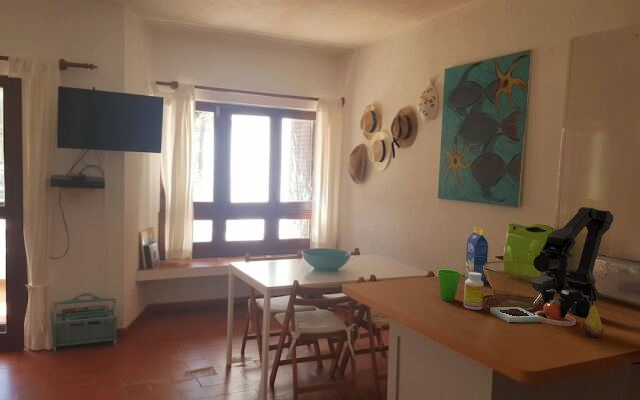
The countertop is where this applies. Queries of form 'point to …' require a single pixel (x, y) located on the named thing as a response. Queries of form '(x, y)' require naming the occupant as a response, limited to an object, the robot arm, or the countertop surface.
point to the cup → (448, 283)
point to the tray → (514, 318)
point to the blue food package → (476, 253)
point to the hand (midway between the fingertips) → (554, 314)
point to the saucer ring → (559, 323)
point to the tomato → (553, 310)
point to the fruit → (593, 322)
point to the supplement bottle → (473, 291)
